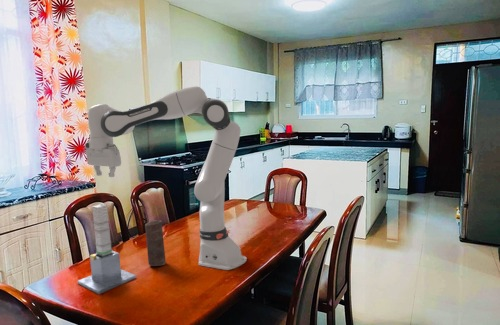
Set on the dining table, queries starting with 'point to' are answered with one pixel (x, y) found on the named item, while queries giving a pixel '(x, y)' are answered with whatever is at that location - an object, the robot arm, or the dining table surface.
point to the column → (102, 230)
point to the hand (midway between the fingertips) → (105, 176)
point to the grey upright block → (155, 243)
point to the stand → (105, 274)
